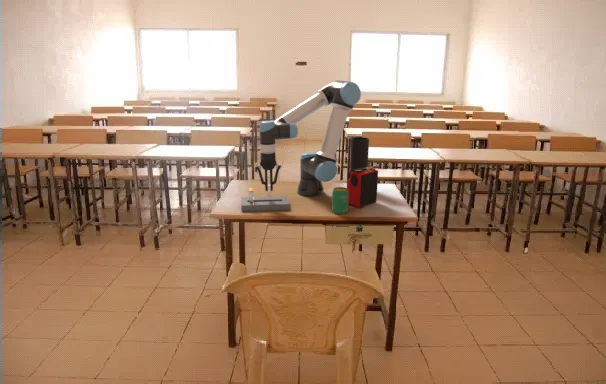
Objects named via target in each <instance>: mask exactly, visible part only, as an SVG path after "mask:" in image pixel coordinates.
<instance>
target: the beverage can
mask: <svg viewBox="0 0 606 384" xmlns="http://www.w3.org/2000/svg"><path fill="white" fill-rule="evenodd" d="M331 192H332V193H331V194H332V196H331V211H332V213H333V214H335V213H336V214H335V215H345V214H347V213H348V211H349V202H348V194H349V192H348V190H347V187H342V186H337V187H334V188H333V190H332V191H331Z"/></svg>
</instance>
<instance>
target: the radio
mask: <svg viewBox="0 0 606 384" xmlns="http://www.w3.org/2000/svg"><path fill="white" fill-rule="evenodd" d="M347 178H348V179H347V181H346V188H347V190H348V192H349V194H348V205H352V206H355V207H356V208H359V209H360V208H363V207H366V206H368V205H372V204H374V203H377V197H378V181H379V169H376V168H374V166H369V167H365V168H359V169H353V171H350V170H349V171H348V174H347Z"/></svg>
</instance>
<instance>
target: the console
mask: <svg viewBox="0 0 606 384" xmlns="http://www.w3.org/2000/svg"><path fill="white" fill-rule="evenodd" d="M240 205H241V209H240V210H241V212H255V211H256V212H260V211H263V212H264V211H289V210H290V202H289V199H288V196H286V195H283V196H281V195H279V196H271V198H268V196H253V202H249V196H247V197H245V196H244V197H243V196H242V197H241V204H240Z"/></svg>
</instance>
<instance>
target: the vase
mask: <svg viewBox="0 0 606 384" xmlns="http://www.w3.org/2000/svg"><path fill="white" fill-rule="evenodd" d="M369 145H370V138H368V137H361V136H357V137H355V136H354V137H351V138H350V154H349V155H350V156H349V157H350V158H349V163H350V164H349V172H350V171H353V169H359V168H365V167H368V165H369V148H370V146H369Z"/></svg>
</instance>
